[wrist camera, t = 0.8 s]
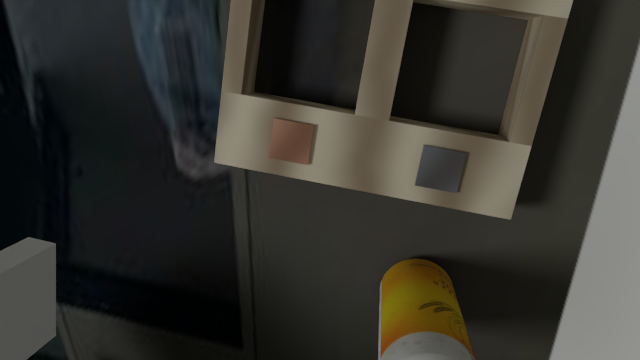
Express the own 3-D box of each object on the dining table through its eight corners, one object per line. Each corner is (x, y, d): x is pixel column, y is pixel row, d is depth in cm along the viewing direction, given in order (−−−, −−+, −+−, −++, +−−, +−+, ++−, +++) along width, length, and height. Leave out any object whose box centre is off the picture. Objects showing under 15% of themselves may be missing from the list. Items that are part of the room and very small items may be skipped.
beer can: (459, 312, 40) (501, 454, 25) (389, 325, 41) (391, 467, 26) (443, 247, 38) (478, 357, 24) (372, 262, 40) (364, 375, 25)
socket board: (228, 154, 39) (212, 163, 35) (251, -44, 35) (235, -57, 31) (499, 205, 37) (511, 220, 33) (555, 1, 33) (576, -7, 29)
